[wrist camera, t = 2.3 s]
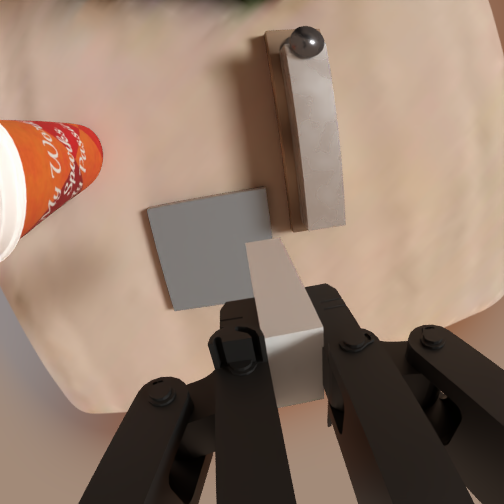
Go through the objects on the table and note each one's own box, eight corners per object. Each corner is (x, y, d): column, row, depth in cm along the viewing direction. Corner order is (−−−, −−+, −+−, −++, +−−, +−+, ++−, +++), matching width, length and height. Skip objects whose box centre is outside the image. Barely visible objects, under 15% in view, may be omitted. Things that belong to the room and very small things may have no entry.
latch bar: (276, 38, 20) (283, 27, 17) (313, 36, 20) (325, 26, 17) (301, 221, 26) (310, 233, 23) (335, 215, 26) (348, 227, 23)
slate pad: (148, 207, 26) (146, 209, 25) (264, 186, 26) (265, 188, 26) (175, 306, 30) (174, 311, 29) (278, 290, 30) (279, 294, 29)
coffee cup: (122, 195, 26) (29, 270, 12) (46, 209, 25) (-59, 280, 11) (109, 100, 22) (-3, 87, 8) (33, 123, 22) (-89, 142, 8)
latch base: (263, 35, 21) (265, 31, 20) (315, 32, 21) (319, 28, 20) (290, 228, 28) (293, 232, 27) (338, 220, 28) (342, 224, 27)
